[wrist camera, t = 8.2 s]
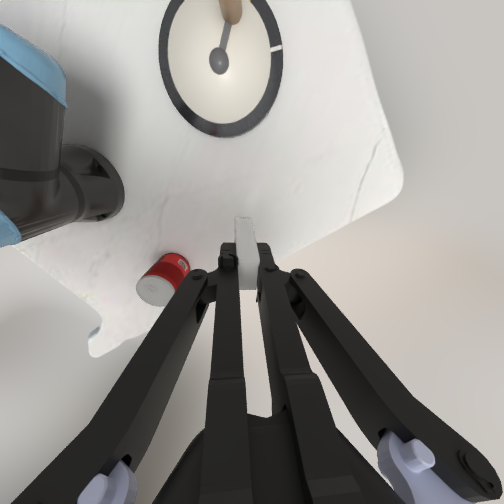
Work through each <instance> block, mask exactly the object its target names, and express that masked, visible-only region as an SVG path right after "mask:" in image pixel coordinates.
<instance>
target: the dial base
mask: <svg viewBox="0 0 504 504" xmlns="http://www.w3.org/2000/svg"><path fill="white" fill-rule="evenodd" d="M184 1H185V0H171V1H170V3H169V5H168V7H167V9H166V12H165V14H164V17H163V20H162V24H161V29H160V35H159V64H160V70H161V75H162V78H163V82H164V85H165V88H166V90H167V93H168V95H169V97H170V99H171V101H172V103H173V104H174V106H175V107H176V109H177V110H178V112H179V113H180V114H181V115H182V116H183V117H184V119H186V120H187V121H188V122H189V123H190V124H191V125H192V126H194V127H195V128H197V129H198V130H200V131H202V132H204V133H206V134H209V135H211V136H215V137H222V138H230V137H236V136H240V135H242V134H245V133H247V132H249V131H250V130H252V129H253V128H255V127H256V126H257V125H258V124H259V123H260V122H261V121H262V120H263V119H264V118H265V116H266V115H267V114H268V112H269V111H270V109H271V107H272V105H273V103H274V101H275V99H276V96H277V93H278V90H279V86H280V82H281V77H282V69H283V50H282V41H281V36H280V32H279V28H278V25H277V22H276V19H275V17H274V15H273V12H272V10H271V9H270V7H269V5H268V3H267V2H266V0H249V1H250V2H251V3H252V5H253V6H254V7H255V9H256V10H257V11H258V13H259V15H260V17H261V19H262V20H263V23H264V25H265V28H266V31H267V34H268V38H269V43H270V51H271V67H270V74H269V80H268V84H267V87H266V90H265V93H264V95H263V97H262V99H261V101H260V102H259V104H258V105H257V106H256V108H255V109H254V110H253V111H252V112H251V113H250V114H249V115H248V116H246V117H245V118H243V119H241V120H239V121H237V122H234V123H229V124H218V123H213V122H210V121H208V120H205V119H203V118H202V117H200V116H199V115H197V114H196V113H195V112H194V111H192V110H191V109H190V108H189V107H188V106H187V104H186V103H185V102H184V101H183V99H182V98H181V96H180V94H179V93H178V91H177V89H176V87H175V84H174V82H173V79H172V76H171V72H170V68H169V61H168V39H169V33H170V28H171V25H172V22H173V19H174V17H175V14H176V13H177V11H178V9H179V7H180V6H181V5H182V3H183V2H184Z"/></svg>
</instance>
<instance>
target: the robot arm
mask: <svg viewBox="0 0 504 504" xmlns="http://www.w3.org/2000/svg"><path fill="white" fill-rule="evenodd" d="M67 107H68V106H67V103H66V77H65V74H64V71H63V70H62V68H61V66H60V65H59V64H58V63H57V61H56V60H55V59H53V58H52V57H51V56H50V55H48V54H47V53H45V52H44V51H42V50H41V49H39V48H38V47H36V46H35V45H33V44H31V43H30V42H28V41H27V40H25V39H24V38H22V37H21V36H19V35H17V34H16V33H14V32H13V31H11V30H10V29H8V28H7V27H5V26H3V25H2V24H0V247H4V246H7V245H14V244H17V243H19V242H22V241H24V240H27V239H29V238H32V237H35V236H37V235H40V234H43V233H45V232H48V231H51V230H53V229H56V228H58V227H61V226H64V225H66V224H69V223H72V222H99V221H103V220H106V219H108V218H111V217H113V216H114V215H116V214H117V213H118V212H119V211H120V209H121V208H122V205H123V202H124V188H123V184H122V181H121V179H120V177H119V175H118V173H117V171H116V170H115V168H114V167H113V166H112V165H111V163H110V162H109V161H108V160H107V159H106V158H104V157H103V156H102V155H101V154H99V153H98V152H96V151H94V150H92V149H90V148H88V147H85V146H80V145H68V144H64V145H62V136H63V124H64V112H65V108H66V109H67ZM256 288H257V289H258V290H257V298H256V302H258V305H259V313H260V319H261V326H262V334H263V341H264V348H265V355H266V362H267V368H268V376H269V383H270V389H271V397H272V416H271V417H268V418H264V417H260V416H256V415H251V414H247V402H246V386H245V378H244V370H243V351H242V332H241V315H240V297H239V296H240V295H239V290H256ZM215 301H216V308H215V321H214V333H213V347H212V361H211V373H210V380H209V385H208V397H207V408H206V409H207V410H206V421H205V428H204V429H203V430H202V431H201V432H200V433H199V434H198V435H197V436H196V437H195V438H194V439H193V440H192V442H191V443H190V445H189V446H188V448H187V449H186V451H185V452H184V454H183V455H182V457H181V459H180V460H179V462H178V463H177V465H176V467H175V468H174V470H173V471H172V473H171V474H170V476H169V477H168V479H167V481H166V482H165V484H164V485H163V487H162V488H161V490H160V492H159V493H158V495H157V496H156V498H155V500H154V501H153V503H152V504H475V503H477V502H481V501H489V500H495V499H500V497H501V495H502V493H503V491H502V485H501V481H500V479H499V477H498V475H497V473H496V471H495V469H494V468H493V467H492V466H491V464H490V463H489V461H488V460H487V459H486V458H485V457H484V456H483V455H482V454H481V453H480V452H479V451H478V450H477V449H476V448H475V447H474V446H473V445H471V444H470V443H469V442H468V441H466V440H465V439H464V438H463V437H462V436H460V435H459V434H458V433H457V432H456V431H454V430H453V429H452V428H451V427H450V426H448V425H447V424H446V423H445V422H444V421H442V420H441V419H440V418H439V417H437V416H436V415H435V414H434V413H433V412H431V411H430V410H429V409H428V408H427V407H425V406H424V405H423V404H422V403H420V402H419V401H418V400H417V399H416V398H414V397H413V396H412V394H411V393H410V392H409V391H408V390H407V389H406V387H405V386H404V385H403V384H402V383H401V381H400V380H399V379H398V378H397V377H396V376H395V374H394V373H393V372H392V371H391V370H390V369H389V368H388V366H387V365H386V364H385V363H384V361H383V360H382V359H381V358H380V357H379V356H378V354H377V353H376V352H375V351H374V350H373V349H372V347H371V346H370V345H369V344H368V343H367V341H366V340H365V339H364V338H363V337H362V336H361V334H360V333H359V332H358V331H357V330H356V329H355V327H354V326H353V325H352V324H351V323H350V321H349V320H348V319H347V318H346V317H345V316H344V314H343V313H342V312H341V311H340V310H339V309H338V307H337V306H336V305H335V304H334V303H333V301H332V300H331V299H330V298H329V297H328V296H327V294H326V293H325V292H324V291H323V290H322V289H321V288H320V286H319V285H318V284H317V283H316V281H315V280H314V279H313V278H312V277H311V276H310V274H309V273H308V272H306V271H305V270H303V269H293V270H292V271H291V273H288V272H284V271H281V270H279V267H278V266H277V265H276V264H275V263H274V259H273V256H272V253H271V249H270V246H269V245H268V244H267V243H256V238H255V233H254V228H253V223H252V218H247V217H235V241H234V243H223V244H222V245H221V249H220V256H219V258H218V269H216V270H215V271H213V272H209V273H207V272H206V271H205V270H202V269H194V270H192V271H190V272H188V273H187V275H186V276H185V278H184V279H183V281H182V282H181V284H180V285H179V287H178V288H177V290H176V292H175V293H174V295H173V296H172V298H171V299H170V301H169V302H168V304H167V305H166V307H165V308H164V310H163V311H162V313H161V314H160V316H159V318H158V319H157V321H156V322H155V324H154V325H153V327H152V328H151V330H150V331H149V333H148V334H147V336H146V337H145V339H144V340H143V342H142V344H141V345H140V347H139V348H138V350H137V351H136V353H135V354H134V356H133V357H132V359H131V360H130V362H129V364H128V365H127V366H126V368H125V370H124V371H123V373H122V374H121V376H120V377H119V379H118V380H117V382H116V383H115V385H114V386H113V388H112V389H111V391H110V392H109V394H108V395H107V397H106V399H105V400H104V402H103V403H102V405H101V406H100V408H99V409H98V411H97V412H96V414H95V415H94V417H93V418H92V420H91V421H90V423H89V424H88V425H87V427H85V429H84V430H82V431H81V432H80V434H79V435H78V436H77V437H76V438H75V439H74V440H73V441H72V442H71V443H70V444H69V445H68V446H67V447H66V448H65V449H64V450H63V451H62V452H61V453H60V454H59V455H58V456H57V457H56V458H55V459H54V460H53V461H52V462H51V463H50V464H49V465H48V466H47V467H46V468H45V469H44V470H43V471H42V472H41V473H40V474H39V475H38V476H37V478H36V479H35V480H34V481H33V482H32V483H31V484H30V485H29V486H28V487H27V488H26V489H25V490H24V491H23V492H22V493H21V494H20V495H19V496H18V497H17V498H16V499H15V500H14V501H13V502H12V503H11V504H134V502H135V498H136V494H137V480H136V477H135V475H134V472H135V471H136V469H137V467H138V465H139V463H140V462H141V460H142V458H143V456H144V455H145V453H146V451H147V449H148V447H149V444H150V442H151V440H152V438H153V436H154V434H155V431H156V429H157V427H158V424H159V422H160V420H161V417H162V415H163V412H164V410H165V408H166V405H167V403H168V401H169V398H170V395H171V394H172V391H173V389H174V386H175V384H176V382H177V380H178V377H179V375H180V372H181V370H182V368H183V365H184V363H185V361H186V358H187V356H188V354H189V351H190V349H191V346H192V344H193V342H194V339H195V337H196V335H197V332H198V330H199V327H200V325H201V323H202V320H203V318H204V316H205V313H206V311H207V309H208V306H209V303H211V302H215ZM296 323H297V324H296ZM297 325H298V326H299V328H300V330H301V331H302V333H303V335H304V336H305V338H306V340H307V341H308V343H309V345H310V346H311V348H312V350H313V351H314V353H315V355H316V357H317V358H318V360H319V362H320V363H321V365H322V367H323V368H324V370H325V372H326V373H327V375H328V377H329V378H330V380H331V382H332V383H333V385H334V387H335V388H336V390H337V392H338V393H339V395H340V397H341V398H342V400H343V402H344V403H345V405H346V407H347V409H348V410H349V412H350V414H351V415H352V417H353V419H354V420H355V422H356V423H357V425H358V426H359V428H360V429H361V431H362V432H363V434H364V435H365V436H366V437H367V439H368V440H369V442H370V443H371V444H372V445H373V447H374V448H375V449H376V450H377V457H378V467H379V469H380V471H381V473H382V474H383V476H384V477H385V478H387V479H388V480H389V481H390V483H391V485H392V486H393V489H394V490H393V489H392V488H391V487H390V486H389V484H388V483H386V481H385V480H384V479H383V478H382V477H381V476H380V475H379V474H378V472H377V471H376V470H375V469H374V468H373V467H372V466H371V465H370V464H369V463H368V461H367V460H366V459H365V458H364V457H363V456H362V455H361V454H360V453H359V452H358V450H357V449H356V448H355V447H354V446H353V445H352V444H351V443H350V442H349V441H348V439H347V438H346V437H345V436H344V435H343V434H342V433H341V432H340V431H339V430H338V429H337V428H336V426H335V423H334V420H333V417H332V414H331V411H330V408H329V405H328V402H327V399H326V396H325V393H324V390H323V387H322V385H321V382H320V379H319V377H318V376H317V374H315V373H313V372H312V370H311V368H310V365H309V362H308V359H307V355H306V352H305V349H304V346H303V343H302V340H301V336H300V333H299V330H298V327H297Z"/></svg>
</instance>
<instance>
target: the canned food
mask: <svg viewBox="0 0 504 504" xmlns="http://www.w3.org/2000/svg"><path fill="white" fill-rule="evenodd" d="M189 271H190V267H189V264H188V262H187V261H186V259H185V258H183V257H182V256H180V255H178V254H173V253H171V254H166V255H164V256H162V257H161V258H160V259H159V260H158V261H157V262H156V263H155V264H154V265H153V266H152V267H151V268H150V269H149V270H148V271H147V272H146V273H145V274H144V275H143V276H142V278H141V279H140V280H139V281H138V283H137V285H136V290H137V293H138V295H139V296H140V298H141V299H142V300H144V301H145V302H146V303H148V304H150V305H153V306H159V307H161V306H166V305H167V304H168V302H169V301H170V299H171V298H172V296H173V295H174V293H175V292H176V290H177V288H178V287H179V285H180V284H181V282H182V281H183V279H184V278H185V276H186V275H187V273H188V272H189Z"/></svg>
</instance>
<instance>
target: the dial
mask: <svg viewBox="0 0 504 504" xmlns="http://www.w3.org/2000/svg"><path fill="white" fill-rule="evenodd" d="M168 61H169V68H170V72H171V76H172V79H173V82H174V84H175V87H176V89H177V91H178V93H179V94H180V96H181V98H182V99H183V101H184V102H185V103H186V104H187V106H188V107H189V108H190V109H191V110H192V111H194V112H195V113H196V114H197V115H199V116H200V117H202V118H203V119H205V120H208V121H210V122H213V123H218V124H229V123H234V122H237V121H239V120H241V119H243V118H245V117H246V116H248V115H249V114H250V113H251V112H252V111H253V110H254V109H255V108H256V106H257V105H258V104H259V102H260V101H261V99H262V97H263V95H264V93H265V90H266V87H267V84H268V80H269V74H270V67H271V51H270V43H269V38H268V34H267V31H266V28H265V25H264V23H263V20H262V19H261V17H260V15H259V13H258V11H257V10H256V9H255V7H254V6H253V5H252V3H251V2H250V1H249V0H185V1H184V2H183V3H182V5H181V6H180V7H179V9H178V11H177V13H176V14H175V17H174V19H173V22H172V25H171V28H170V33H169V39H168Z"/></svg>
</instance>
